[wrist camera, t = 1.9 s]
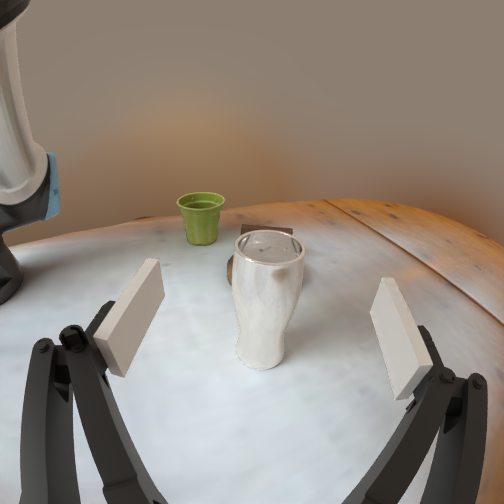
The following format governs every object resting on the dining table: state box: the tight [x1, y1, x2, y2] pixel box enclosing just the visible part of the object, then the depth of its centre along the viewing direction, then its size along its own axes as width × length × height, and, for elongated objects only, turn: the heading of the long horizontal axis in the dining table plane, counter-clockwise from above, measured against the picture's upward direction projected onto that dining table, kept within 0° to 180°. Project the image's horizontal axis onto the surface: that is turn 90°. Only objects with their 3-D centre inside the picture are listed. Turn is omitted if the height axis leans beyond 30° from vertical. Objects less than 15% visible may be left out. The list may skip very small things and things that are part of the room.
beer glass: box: [232, 230, 305, 370], centre depth 30 cm, size 7×7×15 cm
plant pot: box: [177, 192, 225, 245], centre depth 56 cm, size 9×9×9 cm
